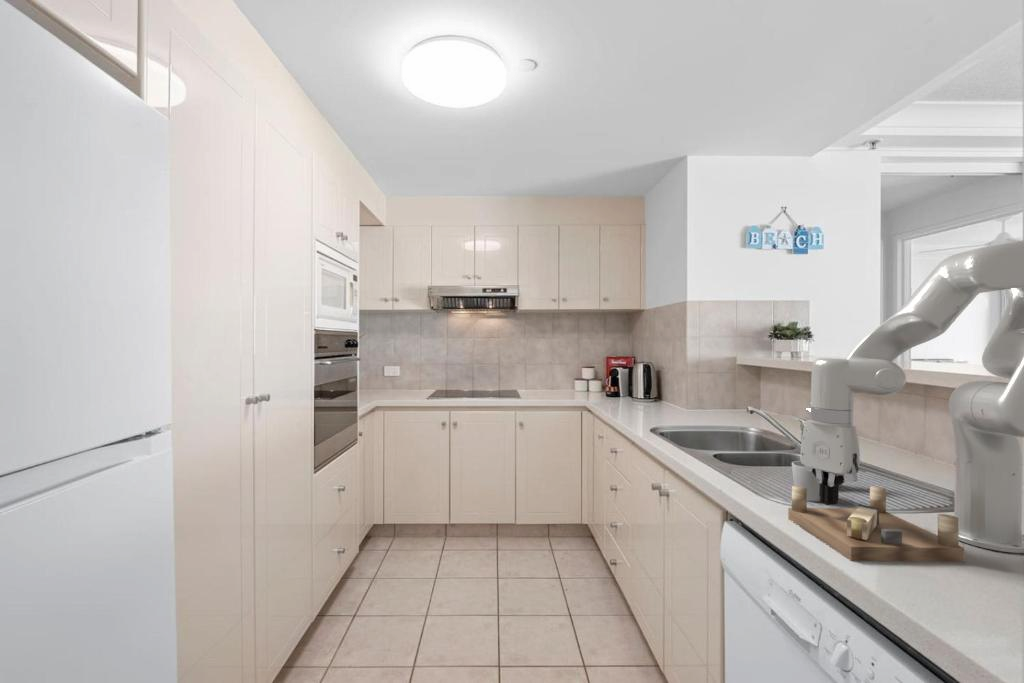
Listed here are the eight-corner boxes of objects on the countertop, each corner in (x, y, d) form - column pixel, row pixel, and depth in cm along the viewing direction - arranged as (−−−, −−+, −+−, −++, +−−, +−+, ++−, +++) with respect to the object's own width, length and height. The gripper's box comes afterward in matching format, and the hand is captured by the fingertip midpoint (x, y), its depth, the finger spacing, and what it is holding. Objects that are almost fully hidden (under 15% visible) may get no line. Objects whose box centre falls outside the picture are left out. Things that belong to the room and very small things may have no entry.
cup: (789, 499, 119) (789, 465, 119) (794, 489, 127) (794, 457, 127) (825, 505, 114) (825, 470, 114) (828, 495, 122) (828, 461, 122)
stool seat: (851, 560, 85) (851, 519, 85) (788, 519, 105) (788, 485, 105) (963, 561, 85) (964, 520, 85) (879, 519, 105) (879, 486, 105)
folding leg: (866, 541, 87) (866, 523, 87) (846, 536, 90) (846, 518, 90) (878, 523, 96) (878, 507, 96) (859, 519, 98) (859, 503, 98)
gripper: (786, 411, 106) (784, 493, 106) (856, 423, 92) (853, 518, 92) (810, 410, 109) (807, 490, 109) (881, 422, 95) (878, 513, 95)
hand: (828, 503), depth 101 cm, fingers closed
